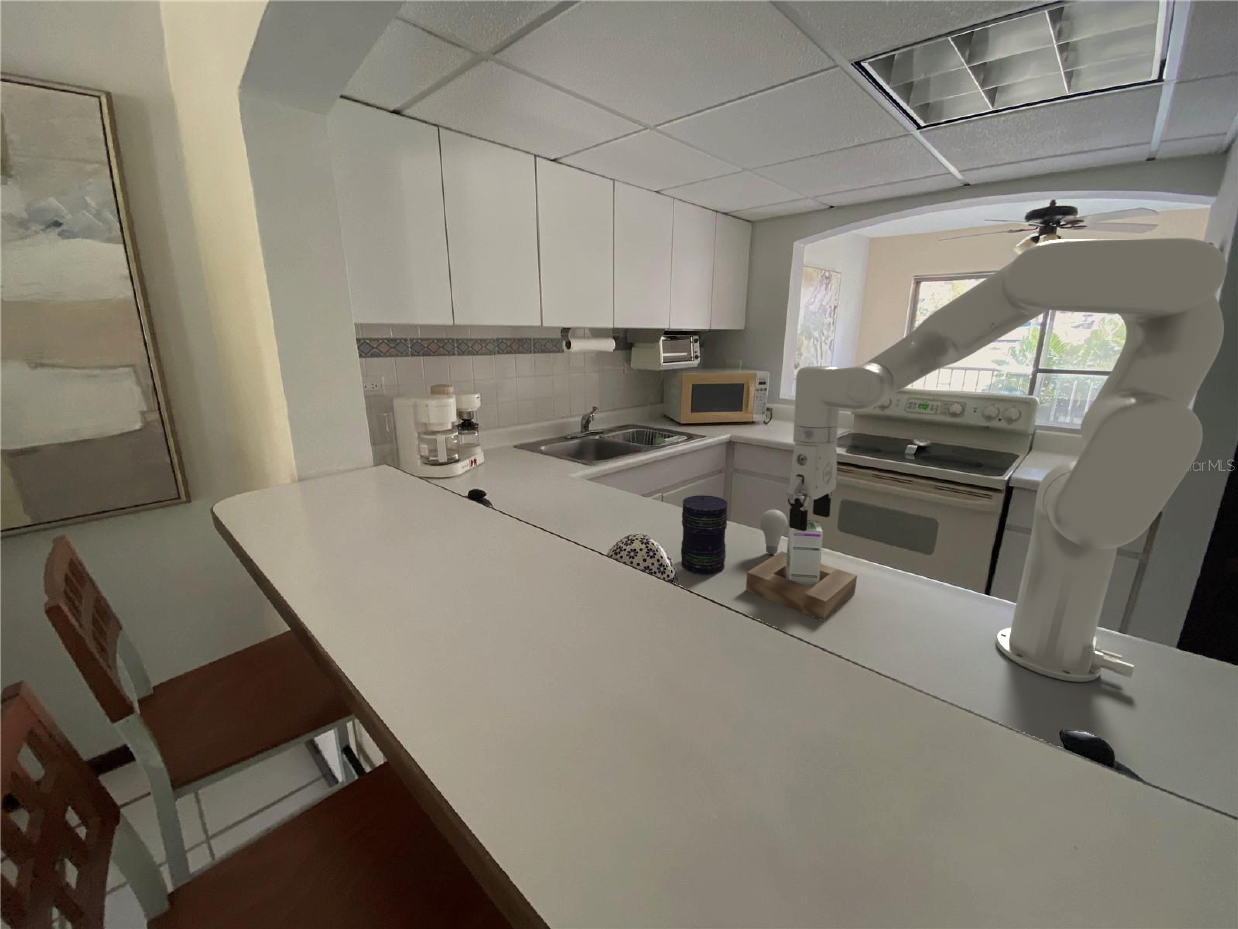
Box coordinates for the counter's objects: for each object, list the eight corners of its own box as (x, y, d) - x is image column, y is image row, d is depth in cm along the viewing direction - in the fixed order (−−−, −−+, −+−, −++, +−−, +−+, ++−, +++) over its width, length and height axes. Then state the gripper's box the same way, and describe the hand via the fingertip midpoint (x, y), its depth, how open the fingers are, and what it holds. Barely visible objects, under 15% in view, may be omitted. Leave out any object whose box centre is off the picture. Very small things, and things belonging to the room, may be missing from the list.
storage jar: (729, 575, 106) (732, 509, 102) (683, 575, 106) (685, 510, 102) (719, 555, 115) (722, 494, 112) (678, 556, 115) (679, 495, 112)
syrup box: (818, 601, 95) (825, 531, 92) (786, 598, 96) (792, 528, 93) (813, 587, 101) (820, 520, 97) (783, 584, 102) (788, 518, 98)
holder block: (854, 593, 98) (857, 575, 97) (823, 621, 88) (826, 601, 87) (780, 567, 109) (781, 551, 108) (745, 590, 99) (747, 572, 98)
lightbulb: (788, 552, 117) (791, 508, 114) (780, 562, 112) (784, 516, 109) (762, 547, 120) (765, 504, 117) (754, 556, 115) (757, 511, 112)
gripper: (813, 444, 82) (807, 540, 86) (854, 429, 94) (848, 515, 98) (772, 439, 87) (768, 530, 91) (816, 426, 99) (811, 507, 103)
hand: (809, 522), depth 95 cm, fingers open, 9 cm apart
